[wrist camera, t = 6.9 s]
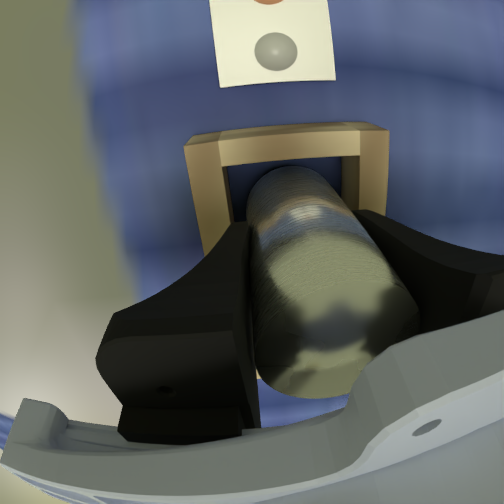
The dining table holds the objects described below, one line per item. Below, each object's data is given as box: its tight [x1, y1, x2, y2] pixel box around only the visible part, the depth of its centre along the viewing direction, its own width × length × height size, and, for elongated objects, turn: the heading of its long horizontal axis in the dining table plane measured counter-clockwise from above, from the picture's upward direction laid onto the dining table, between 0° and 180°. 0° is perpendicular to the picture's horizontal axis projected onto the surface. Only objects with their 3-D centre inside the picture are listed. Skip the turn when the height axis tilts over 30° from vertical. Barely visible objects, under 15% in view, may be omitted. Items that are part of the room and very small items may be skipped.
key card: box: [209, 0, 336, 88], centre depth 10 cm, size 5×6×1 cm
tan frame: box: [184, 122, 389, 379], centre depth 15 cm, size 8×14×2 cm, turn 6°
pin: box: [246, 166, 421, 399], centre depth 10 cm, size 4×4×8 cm
